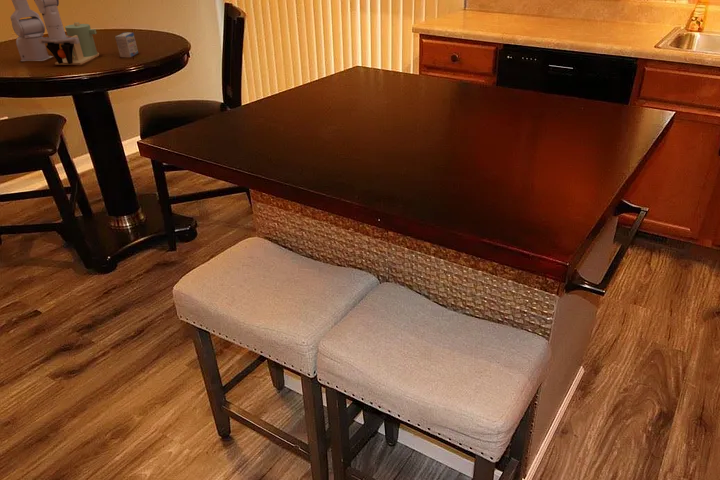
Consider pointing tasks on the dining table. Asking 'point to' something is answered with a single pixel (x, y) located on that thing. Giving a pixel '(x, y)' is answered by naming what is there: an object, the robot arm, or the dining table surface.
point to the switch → (61, 53)
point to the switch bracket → (76, 55)
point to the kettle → (83, 38)
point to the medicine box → (126, 44)
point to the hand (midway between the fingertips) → (65, 63)
